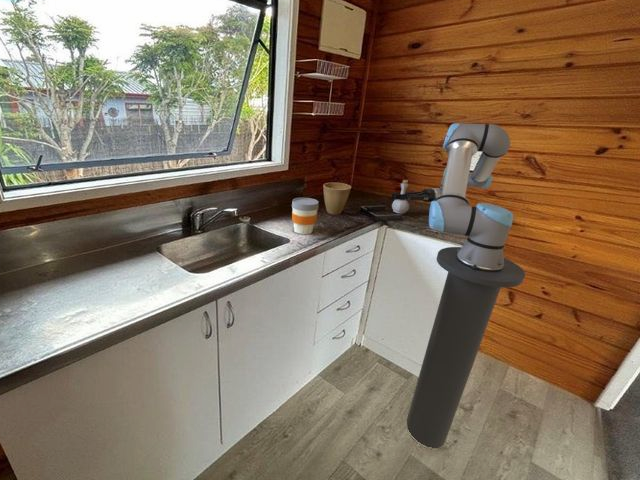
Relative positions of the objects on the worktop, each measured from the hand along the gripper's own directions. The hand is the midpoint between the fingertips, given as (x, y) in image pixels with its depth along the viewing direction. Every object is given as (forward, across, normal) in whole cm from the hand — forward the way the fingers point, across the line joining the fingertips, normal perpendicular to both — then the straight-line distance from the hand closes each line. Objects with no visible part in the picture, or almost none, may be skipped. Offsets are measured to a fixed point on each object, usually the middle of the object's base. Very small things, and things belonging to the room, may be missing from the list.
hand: (393, 196), depth 168 cm
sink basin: (+6, 0, -11) cm, 12 cm away
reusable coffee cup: (+56, -16, -11) cm, 60 cm away
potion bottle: (-6, 0, -9) cm, 11 cm away
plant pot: (+30, +7, -11) cm, 33 cm away
